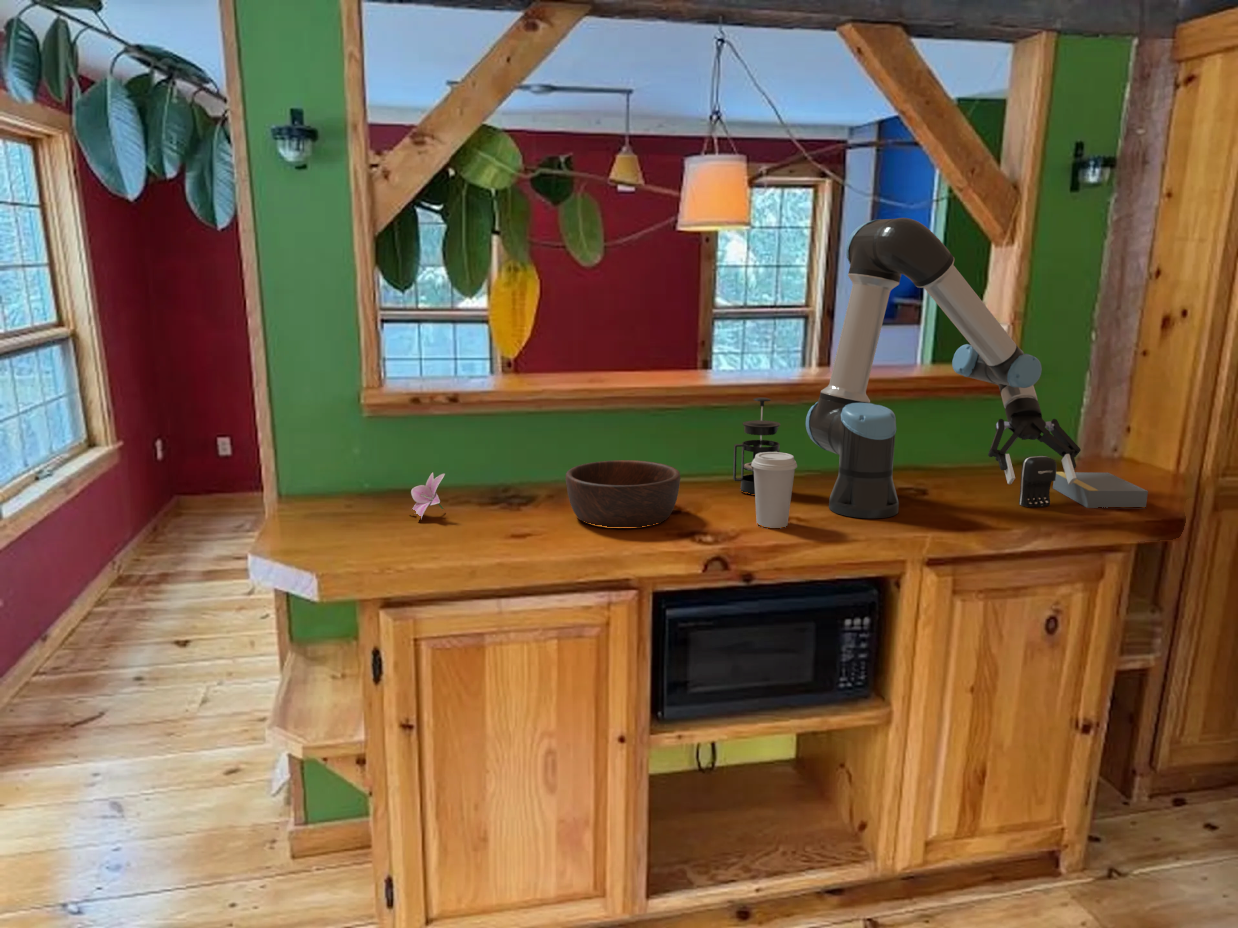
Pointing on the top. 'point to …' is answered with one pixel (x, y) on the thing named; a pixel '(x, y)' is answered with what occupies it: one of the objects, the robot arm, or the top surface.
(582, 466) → the wooden bowl
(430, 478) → the lily
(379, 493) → the top surface
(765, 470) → the coffee cup
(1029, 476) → the battery charger
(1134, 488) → the dock
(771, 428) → the french press
